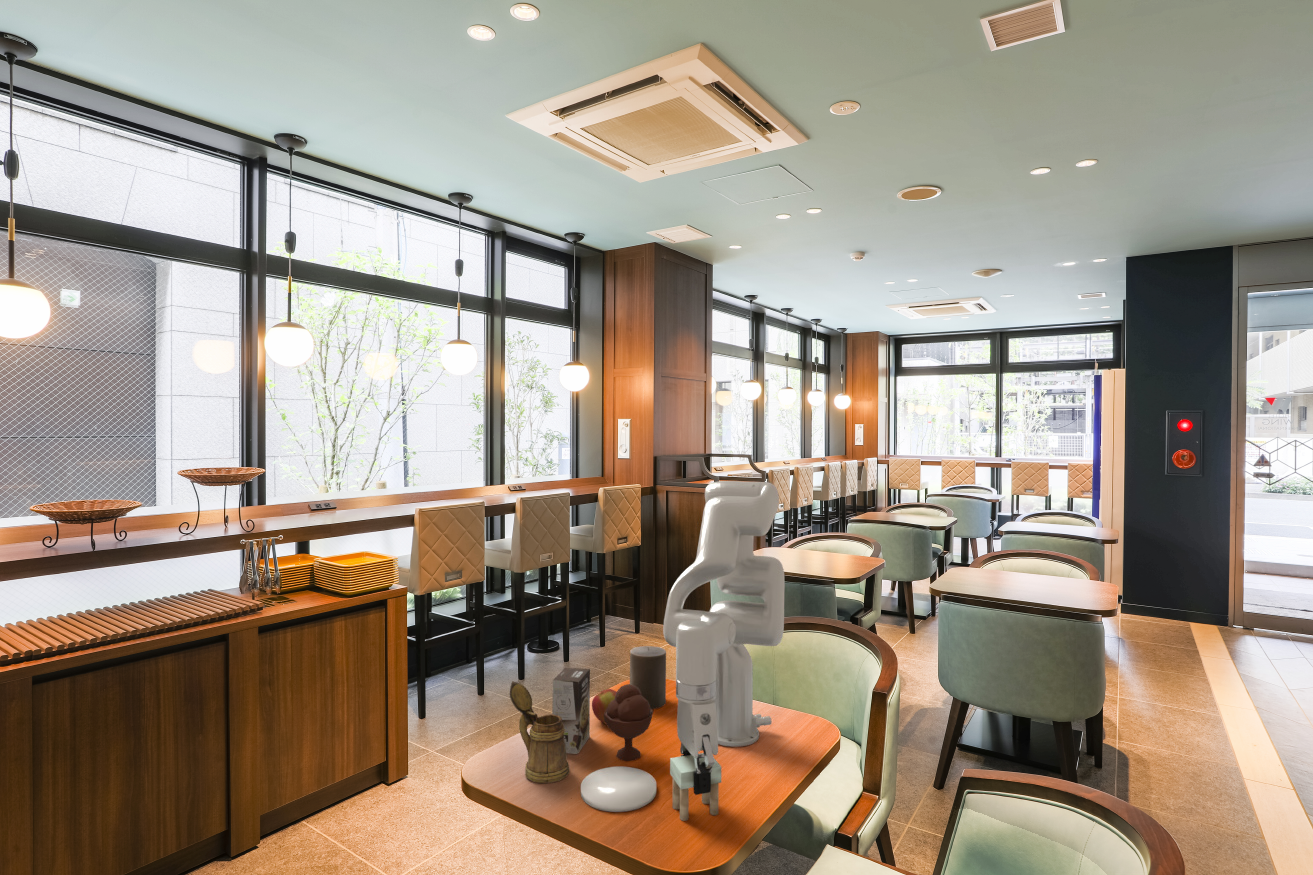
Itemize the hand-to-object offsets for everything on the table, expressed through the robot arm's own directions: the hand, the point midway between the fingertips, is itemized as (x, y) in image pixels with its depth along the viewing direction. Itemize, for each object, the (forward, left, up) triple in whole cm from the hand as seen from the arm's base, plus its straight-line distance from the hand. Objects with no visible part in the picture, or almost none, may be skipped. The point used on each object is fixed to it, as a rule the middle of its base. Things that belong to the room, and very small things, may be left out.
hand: (695, 782), depth 127 cm
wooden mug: (+26, -24, -5) cm, 36 cm away
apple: (+6, -43, -5) cm, 44 cm away
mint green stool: (0, 0, -5) cm, 5 cm away
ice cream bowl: (+6, -25, -5) cm, 26 cm away
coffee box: (+17, -34, -5) cm, 38 cm away
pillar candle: (-7, -52, -5) cm, 53 cm away
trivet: (+12, -11, -5) cm, 17 cm away
